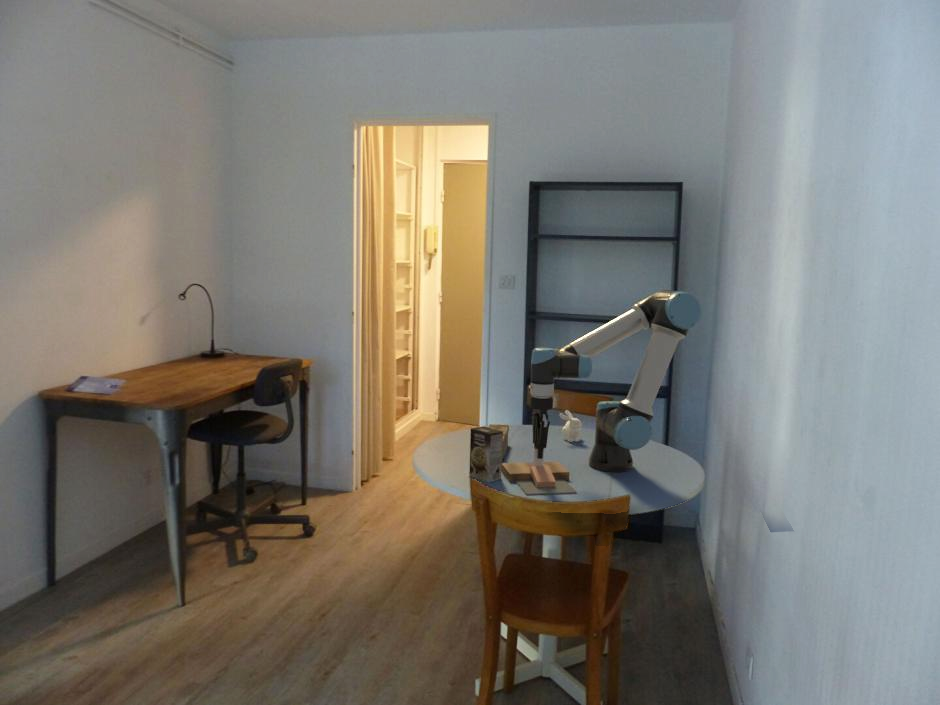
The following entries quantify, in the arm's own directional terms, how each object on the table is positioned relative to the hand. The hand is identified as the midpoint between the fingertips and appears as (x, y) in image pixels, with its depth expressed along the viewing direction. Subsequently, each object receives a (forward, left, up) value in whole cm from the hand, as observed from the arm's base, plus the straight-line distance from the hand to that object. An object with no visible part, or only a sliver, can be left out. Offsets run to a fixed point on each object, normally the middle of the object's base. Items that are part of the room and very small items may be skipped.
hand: (538, 467), depth 226 cm
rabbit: (-28, -49, -4) cm, 57 cm away
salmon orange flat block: (0, +5, -3) cm, 5 cm away
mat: (0, +8, -4) cm, 9 cm away
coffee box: (+17, -4, -4) cm, 18 cm away
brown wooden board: (0, -5, -4) cm, 6 cm away
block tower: (+7, -33, -5) cm, 34 cm away
